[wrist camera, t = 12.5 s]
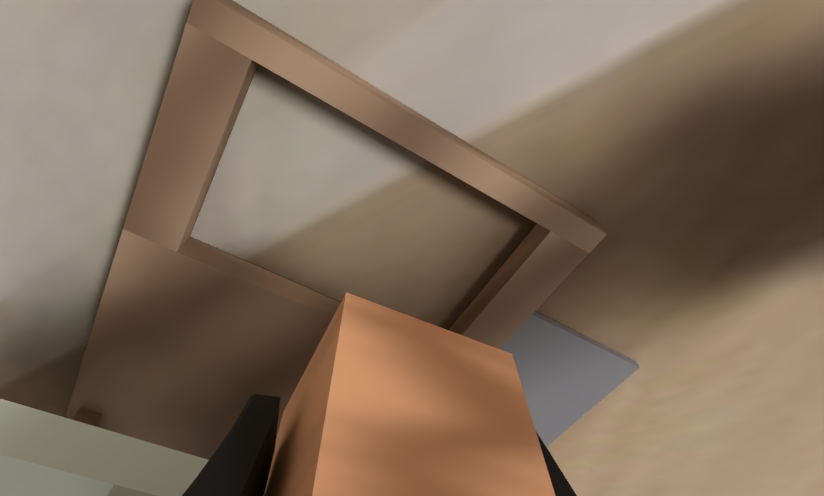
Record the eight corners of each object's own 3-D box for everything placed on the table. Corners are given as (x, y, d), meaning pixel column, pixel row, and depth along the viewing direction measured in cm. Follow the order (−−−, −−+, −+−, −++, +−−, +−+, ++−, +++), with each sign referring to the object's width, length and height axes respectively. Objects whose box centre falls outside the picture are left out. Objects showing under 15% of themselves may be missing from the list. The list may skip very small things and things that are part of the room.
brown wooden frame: (595, 220, 18) (677, 318, 13) (340, 502, 28) (327, 622, 23) (212, -12, 14) (93, -9, 8) (71, 423, 24) (-23, 551, 18)
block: (512, 353, 12) (592, 617, 7) (429, 453, 15) (445, 709, 10) (346, 292, 11) (301, 558, 6) (283, 411, 13) (211, 679, 8)
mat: (635, 361, 22) (639, 367, 22) (525, 456, 26) (526, 463, 26) (493, 290, 20) (495, 296, 20) (394, 407, 24) (394, 414, 23)
